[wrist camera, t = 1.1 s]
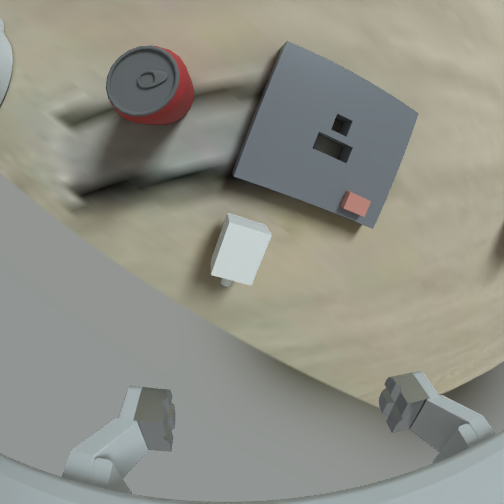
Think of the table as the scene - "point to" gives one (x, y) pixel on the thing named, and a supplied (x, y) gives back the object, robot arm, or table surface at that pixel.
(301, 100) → the socket plate
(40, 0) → the table surface
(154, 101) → the beer can
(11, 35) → the table surface
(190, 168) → the table surface
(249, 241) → the plug
